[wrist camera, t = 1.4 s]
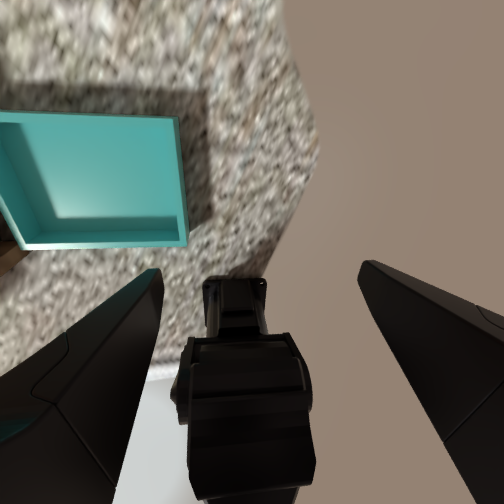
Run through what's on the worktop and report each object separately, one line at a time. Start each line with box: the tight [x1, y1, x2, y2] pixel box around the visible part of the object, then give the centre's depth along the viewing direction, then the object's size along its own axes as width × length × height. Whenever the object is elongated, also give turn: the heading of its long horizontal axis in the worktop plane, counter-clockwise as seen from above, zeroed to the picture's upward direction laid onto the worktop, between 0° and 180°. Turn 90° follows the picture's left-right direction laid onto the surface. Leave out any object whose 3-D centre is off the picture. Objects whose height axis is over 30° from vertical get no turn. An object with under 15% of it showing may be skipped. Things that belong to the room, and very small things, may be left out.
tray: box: [0, 109, 190, 250], centre depth 18 cm, size 9×12×2 cm
